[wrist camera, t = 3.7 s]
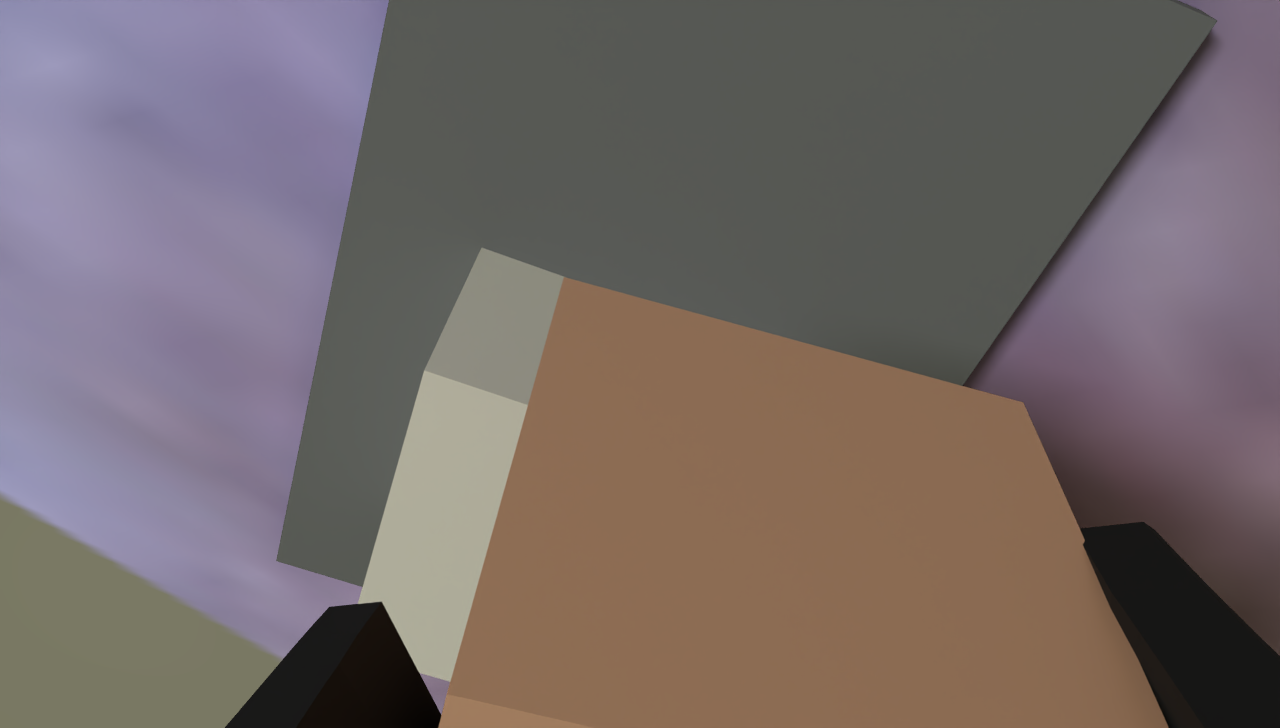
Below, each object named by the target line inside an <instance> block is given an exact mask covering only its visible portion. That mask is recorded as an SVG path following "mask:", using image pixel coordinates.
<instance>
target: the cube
mask: <svg viewBox="0 0 1280 728" xmlns="http://www.w3.org/2000/svg"><path fill="white" fill-rule="evenodd" d="M1084 541H1085V539H1084V537H1083V535H1082V533H1081V531H1080V528H1079V526H1078V524H1077V522H1076V519H1075V517H1074V515H1073V513H1072V510H1071V508H1070V506H1069V504H1068V502H1067V499H1066V497H1065V495H1064V493H1063V490H1062V488H1061V486H1060V484H1059V481H1058V479H1057V477H1056V475H1055V473H1054V470H1053V468H1052V466H1051V464H1050V461H1049V459H1048V457H1047V455H1046V452H1045V450H1044V448H1043V446H1042V443H1041V441H1040V439H1039V437H1038V435H1037V432H1036V430H1035V428H1034V426H1033V423H1032V421H1031V419H1030V417H1029V414H1028V412H1027V410H1026V408H1025V406H1024V403H1023V402H1019V401H1016V400H1012V399H1008V398H1005V397H1001V396H997V395H994V394H990V393H986V392H983V391H979V390H975V389H972V388H968V387H964V386H961V385H957V384H953V383H950V382H946V381H942V380H939V379H935V378H931V377H928V376H924V375H920V374H917V373H913V372H910V371H906V370H902V369H899V368H895V367H891V366H888V365H884V364H880V363H877V362H873V361H869V360H866V359H862V358H858V357H855V356H851V355H847V354H844V353H840V352H836V351H833V350H829V349H825V348H822V347H818V346H814V345H811V344H807V343H803V342H800V341H796V340H792V339H789V338H785V337H782V336H778V335H774V334H771V333H767V332H763V331H760V330H756V329H752V328H749V327H745V326H741V325H738V324H734V323H730V322H727V321H723V320H719V319H716V318H712V317H708V316H705V315H701V314H697V313H694V312H690V311H686V310H683V309H679V308H675V307H672V306H668V305H664V304H661V303H657V302H653V301H650V300H646V299H643V298H639V297H635V296H632V295H628V294H624V293H621V292H617V291H613V290H610V289H606V288H602V287H599V286H595V285H591V284H588V283H584V282H580V281H577V280H573V279H569V278H566V277H564V278H563V282H562V285H561V289H560V293H559V296H558V300H557V303H556V307H555V310H554V314H553V318H552V321H551V325H550V328H549V332H548V335H547V339H546V343H545V346H544V350H543V353H542V357H541V360H540V364H539V367H538V371H537V375H536V378H535V382H534V385H533V389H532V392H531V396H530V400H529V403H528V407H527V410H526V414H525V417H524V421H523V425H522V428H521V432H520V435H519V439H518V442H517V446H516V449H515V453H514V457H513V460H512V464H511V467H510V471H509V474H508V478H507V482H506V485H505V489H504V492H503V496H502V499H501V503H500V507H499V510H498V514H497V517H496V521H495V524H494V528H493V532H492V535H491V539H490V542H489V546H488V549H487V553H486V556H485V560H484V564H483V567H482V571H481V574H480V578H479V581H478V585H477V589H476V592H475V596H474V599H473V603H472V606H471V610H470V614H469V617H468V621H467V624H466V628H465V631H464V635H463V639H462V642H461V646H460V649H459V653H458V656H457V660H456V663H455V667H454V671H453V674H452V678H451V681H450V685H449V688H448V692H447V696H446V700H445V704H444V708H443V711H442V715H441V719H440V723H439V727H438V728H1169V727H1168V725H1167V723H1166V720H1165V718H1164V716H1163V714H1162V711H1161V709H1160V707H1159V705H1158V702H1157V700H1156V698H1155V696H1154V694H1153V691H1152V689H1151V687H1150V685H1149V682H1148V680H1147V678H1146V676H1145V673H1144V671H1143V669H1142V667H1141V665H1140V662H1139V660H1138V658H1137V656H1136V654H1135V653H1134V651H1133V649H1132V647H1131V645H1130V643H1129V642H1128V640H1127V638H1126V636H1125V634H1124V632H1123V630H1122V629H1121V627H1120V625H1119V623H1118V621H1117V619H1116V617H1115V616H1114V614H1113V612H1112V610H1111V608H1110V606H1109V604H1108V601H1107V599H1106V597H1105V595H1104V592H1103V590H1102V588H1101V585H1100V583H1099V581H1098V579H1097V576H1096V574H1095V572H1094V569H1093V567H1092V565H1091V562H1090V560H1089V558H1088V556H1087V553H1086V551H1085V549H1084V546H1083V543H1084Z"/></svg>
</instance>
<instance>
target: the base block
mask: <svg viewBox="0 0 1280 728" xmlns="http://www.w3.org/2000/svg"><path fill="white" fill-rule="evenodd" d="M563 278H564V276H561V275H558V274H555V273H552V272H550V271H547V270H544V269H541V268H538V267H535V266H533V265H530V264H527V263H524V262H521V261H518V260H516V259H513V258H510V257H507V256H504V255H501V254H499V253H496V252H493V251H490V250H487V249H484V248H481V250H480V252H479V254H478V256H477V259H476V261H475V263H474V265H473V267H472V269H471V271H470V274H469V276H468V278H467V280H466V282H465V284H464V286H463V288H462V291H461V293H460V295H459V297H458V299H457V301H456V303H455V306H454V308H453V310H452V312H451V314H450V316H449V318H448V321H447V323H446V325H445V327H444V329H443V331H442V333H441V336H440V338H439V340H438V342H437V344H436V346H435V348H434V350H433V353H432V355H431V357H430V359H429V361H428V363H427V365H426V368H425V370H424V373H423V376H422V380H421V383H420V387H419V390H418V394H417V397H416V401H415V405H414V408H413V412H412V415H411V419H410V422H409V426H408V429H407V433H406V436H405V440H404V443H403V447H402V450H401V454H400V457H399V461H398V464H397V468H396V471H395V475H394V478H393V482H392V486H391V489H390V493H389V496H388V500H387V503H386V507H385V510H384V514H383V517H382V521H381V524H380V528H379V531H378V535H377V538H376V542H375V545H374V549H373V552H372V556H371V560H370V563H369V567H368V570H367V574H366V577H365V581H364V584H363V588H362V591H361V595H360V598H359V602H358V604H363V603H372V602H382V603H383V605H384V607H385V609H386V611H387V612H388V614H389V616H390V618H391V620H392V622H393V624H394V626H395V628H396V630H397V632H398V633H399V635H400V637H401V639H402V641H403V643H404V645H405V647H406V649H407V651H408V653H409V654H410V656H411V658H412V660H413V662H414V664H415V666H416V668H417V670H418V672H419V673H422V674H426V675H429V676H433V677H436V678H439V679H443V680H446V681H451V678H452V674H453V671H454V667H455V663H456V660H457V656H458V653H459V649H460V646H461V642H462V639H463V635H464V631H465V628H466V624H467V621H468V617H469V614H470V610H471V606H472V603H473V599H474V596H475V592H476V589H477V585H478V581H479V578H480V574H481V571H482V567H483V564H484V560H485V556H486V553H487V549H488V546H489V542H490V539H491V535H492V532H493V528H494V524H495V521H496V517H497V514H498V510H499V507H500V503H501V499H502V496H503V492H504V489H505V485H506V482H507V478H508V474H509V471H510V467H511V464H512V460H513V457H514V453H515V449H516V446H517V442H518V439H519V435H520V432H521V428H522V425H523V421H524V417H525V414H526V410H527V407H528V403H529V400H530V396H531V392H532V389H533V385H534V382H535V378H536V375H537V371H538V367H539V364H540V360H541V357H542V353H543V350H544V346H545V343H546V339H547V335H548V332H549V328H550V325H551V321H552V318H553V314H554V310H555V307H556V303H557V300H558V296H559V293H560V289H561V285H562V282H563Z"/></svg>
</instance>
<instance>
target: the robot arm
mask: <svg viewBox="0 0 1280 728" xmlns="http://www.w3.org/2000/svg"><path fill="white" fill-rule="evenodd" d="M1080 531H1081V533H1082V535H1083V537H1084V539H1085V541H1084V543H1083V546H1084V549H1085V551H1086V553H1087V556H1088V558H1089V560H1090V562H1091V565H1092V567H1093V569H1094V572H1095V574H1096V576H1097V579H1098V581H1099V583H1100V585H1101V588H1102V590H1103V592H1104V595H1105V597H1106V599H1107V601H1108V604H1109V606H1110V608H1111V610H1112V612H1113V614H1114V616H1115V617H1116V619H1117V621H1118V623H1119V625H1120V627H1121V629H1122V630H1123V632H1124V634H1125V636H1126V638H1127V640H1128V642H1129V643H1130V645H1131V647H1132V649H1133V651H1134V653H1135V654H1136V656H1137V658H1138V660H1139V662H1140V665H1141V667H1142V669H1143V671H1144V673H1145V676H1146V678H1147V680H1148V682H1149V685H1150V687H1151V689H1152V691H1153V694H1154V696H1155V698H1156V700H1157V702H1158V705H1159V707H1160V709H1161V711H1162V714H1163V716H1164V718H1165V720H1166V723H1167V725H1168V727H1169V728H1280V656H1279V655H1278V654H1277V653H1276V652H1275V651H1274V650H1273V649H1272V648H1271V647H1270V646H1269V645H1268V644H1267V643H1265V642H1264V641H1263V640H1262V639H1261V638H1260V637H1259V636H1258V635H1257V634H1256V633H1255V632H1254V631H1253V630H1252V629H1251V628H1250V627H1249V626H1248V625H1247V624H1246V623H1245V622H1244V621H1243V620H1242V619H1241V618H1240V617H1239V616H1238V615H1237V614H1236V613H1235V612H1234V611H1233V610H1232V609H1231V608H1230V607H1229V606H1228V605H1227V604H1226V603H1225V602H1224V601H1223V600H1222V599H1221V598H1220V597H1219V596H1218V595H1217V594H1216V593H1215V592H1214V591H1213V590H1212V589H1211V588H1210V587H1209V586H1208V585H1207V584H1206V583H1205V582H1204V581H1203V580H1202V579H1201V578H1200V577H1199V576H1198V575H1197V574H1196V573H1195V572H1194V571H1193V570H1192V569H1191V568H1190V567H1189V565H1188V564H1187V563H1186V562H1185V561H1184V560H1183V559H1182V558H1181V557H1180V556H1179V555H1178V554H1177V553H1176V552H1175V551H1174V550H1173V549H1172V548H1171V547H1170V546H1169V545H1168V544H1167V542H1166V541H1165V540H1164V539H1163V538H1162V537H1161V536H1160V535H1159V534H1158V533H1157V532H1156V531H1155V530H1154V529H1152V528H1151V527H1150V526H1148V525H1147V524H1145V523H1144V522H1139V523H1129V524H1120V525H1110V526H1101V527H1091V528H1081V529H1080ZM440 719H441V714H440V712H439V710H438V708H437V706H436V704H435V702H434V700H433V698H432V696H431V695H430V693H429V691H428V689H427V687H426V685H425V683H424V681H423V679H422V677H421V675H420V674H419V672H418V670H417V668H416V666H415V664H414V662H413V660H412V658H411V656H410V654H409V653H408V651H407V649H406V647H405V645H404V643H403V641H402V639H401V637H400V635H399V633H398V632H397V630H396V628H395V626H394V624H393V622H392V620H391V618H390V616H389V614H388V612H387V611H386V609H385V607H384V605H383V603H382V602H372V603H363V604H353V605H343V606H334V607H329V608H328V609H327V610H326V611H325V612H324V613H323V614H322V616H321V617H320V618H319V619H318V620H317V621H316V622H315V623H314V624H313V625H312V627H311V628H310V629H309V630H308V631H307V632H306V633H305V634H304V636H303V637H302V638H301V639H300V640H299V641H298V643H297V644H296V645H295V646H294V647H293V648H292V650H291V651H290V652H289V653H288V654H287V655H286V657H285V658H284V659H283V660H282V661H281V662H280V664H279V665H278V666H277V667H276V669H274V671H273V672H272V673H271V674H270V675H269V677H268V678H267V679H266V680H265V681H264V682H263V684H262V685H261V686H260V687H259V688H258V689H257V691H256V692H255V693H254V694H253V695H252V697H251V698H250V699H249V700H248V701H247V702H246V704H245V705H244V706H243V707H242V708H241V709H240V711H239V712H238V713H237V714H236V715H235V716H234V718H233V719H232V720H231V721H230V722H229V723H228V725H227V726H226V727H225V728H438V727H439V723H440Z"/></svg>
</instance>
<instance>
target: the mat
mask: <svg viewBox="0 0 1280 728" xmlns="http://www.w3.org/2000/svg"><path fill="white" fill-rule="evenodd" d="M1216 22H1217V20H1215V19H1214V18H1212V17H1211V16H1209V15H1207V14H1206V13H1204V12H1203V11H1201V10H1199V9H1196V8H1194V7H1192V6H1189V5H1187V4H1185V3H1182V2H1180V1H1178V0H389V3H388V8H387V13H386V18H385V23H384V28H383V33H382V38H381V43H380V48H379V53H378V58H377V63H376V68H375V73H374V78H373V83H372V88H371V93H370V98H369V103H368V108H367V113H366V118H365V123H364V128H363V133H362V138H361V142H360V147H359V152H358V157H357V162H356V167H355V172H354V177H353V182H352V187H351V192H350V197H349V202H348V207H347V212H346V217H345V222H344V227H343V232H342V237H341V242H340V247H339V252H338V257H337V262H336V267H335V272H334V277H333V282H332V287H331V292H330V297H329V302H328V307H327V312H326V317H325V321H324V326H323V331H322V336H321V341H320V346H319V351H318V356H317V361H316V366H315V371H314V376H313V381H312V386H311V391H310V396H309V401H308V406H307V411H306V416H305V421H304V426H303V431H302V436H301V441H300V446H299V451H298V456H297V461H296V466H295V471H294V476H293V481H292V486H291V491H290V496H289V500H288V505H287V510H286V515H285V520H284V525H283V530H282V535H281V540H280V545H279V550H278V555H277V560H276V561H278V562H282V563H285V564H288V565H292V566H295V567H298V568H302V569H305V570H308V571H312V572H315V573H318V574H322V575H325V576H328V577H332V578H335V579H338V580H342V581H345V582H348V583H352V584H355V585H358V586H362V587H363V584H364V581H365V577H366V574H367V570H368V567H369V563H370V560H371V556H372V552H373V549H374V545H375V542H376V538H377V535H378V531H379V528H380V524H381V521H382V517H383V514H384V510H385V507H386V503H387V500H388V496H389V493H390V489H391V486H392V482H393V478H394V475H395V471H396V468H397V464H398V461H399V457H400V454H401V450H402V447H403V443H404V440H405V436H406V433H407V429H408V426H409V422H410V419H411V415H412V412H413V408H414V405H415V401H416V397H417V394H418V390H419V387H420V383H421V380H422V376H423V373H424V370H425V368H426V365H427V363H428V361H429V359H430V357H431V355H432V353H433V350H434V348H435V346H436V344H437V342H438V340H439V338H440V336H441V333H442V331H443V329H444V327H445V325H446V323H447V321H448V318H449V316H450V314H451V312H452V310H453V308H454V306H455V303H456V301H457V299H458V297H459V295H460V293H461V291H462V288H463V286H464V284H465V282H466V280H467V278H468V276H469V274H470V271H471V269H472V267H473V265H474V263H475V261H476V259H477V256H478V254H479V252H480V250H481V248H484V249H487V250H490V251H493V252H496V253H499V254H501V255H504V256H507V257H510V258H513V259H516V260H518V261H521V262H524V263H527V264H530V265H533V266H535V267H538V268H541V269H544V270H547V271H550V272H552V273H555V274H558V275H561V276H564V277H566V278H569V279H573V280H577V281H580V282H584V283H588V284H591V285H595V286H599V287H602V288H606V289H610V290H613V291H617V292H621V293H624V294H628V295H632V296H635V297H639V298H643V299H646V300H650V301H653V302H657V303H661V304H664V305H668V306H672V307H675V308H679V309H683V310H686V311H690V312H694V313H697V314H701V315H705V316H708V317H712V318H716V319H719V320H723V321H727V322H730V323H734V324H738V325H741V326H745V327H749V328H752V329H756V330H760V331H763V332H767V333H771V334H774V335H778V336H782V337H785V338H789V339H792V340H796V341H800V342H803V343H807V344H811V345H814V346H818V347H822V348H825V349H829V350H833V351H836V352H840V353H844V354H847V355H851V356H855V357H858V358H862V359H866V360H869V361H873V362H877V363H880V364H884V365H888V366H891V367H895V368H899V369H902V370H906V371H910V372H913V373H917V374H920V375H924V376H928V377H931V378H935V379H939V380H942V381H946V382H950V383H953V384H957V385H961V386H963V384H964V383H965V381H966V380H967V379H968V377H969V376H970V374H971V373H972V371H973V370H974V368H975V367H976V366H977V364H978V363H979V361H980V360H981V358H982V357H983V356H984V354H985V353H986V351H987V350H988V348H989V347H990V346H991V344H992V343H993V341H994V340H995V338H996V337H997V336H998V334H999V333H1000V331H1001V330H1002V328H1003V327H1004V326H1005V324H1006V323H1007V321H1008V320H1009V318H1010V317H1011V316H1012V314H1013V313H1014V311H1015V310H1016V308H1017V307H1018V306H1019V304H1020V303H1021V301H1022V300H1023V298H1024V297H1025V295H1026V294H1027V293H1028V291H1029V290H1030V288H1031V287H1032V285H1033V284H1034V283H1035V281H1036V280H1037V278H1038V277H1039V275H1040V274H1041V273H1042V271H1043V270H1044V268H1045V267H1046V265H1047V264H1048V263H1049V261H1050V260H1051V258H1052V257H1053V255H1054V254H1055V253H1056V251H1057V250H1058V248H1059V247H1060V245H1061V244H1062V243H1063V241H1064V240H1065V238H1066V237H1067V235H1068V234H1069V232H1070V231H1071V230H1072V228H1073V227H1074V225H1075V224H1076V222H1077V221H1078V220H1079V218H1080V217H1081V215H1082V214H1083V212H1084V211H1085V210H1086V208H1087V207H1088V205H1089V204H1090V202H1091V201H1092V200H1093V198H1094V197H1095V195H1096V194H1097V192H1098V191H1099V190H1100V188H1101V187H1102V185H1103V184H1104V182H1105V181H1106V180H1107V178H1108V177H1109V175H1110V174H1111V172H1112V171H1113V170H1114V168H1115V167H1116V165H1117V164H1118V162H1119V161H1120V159H1121V158H1122V157H1123V155H1124V154H1125V152H1126V151H1127V149H1128V148H1129V147H1130V145H1131V144H1132V142H1133V141H1134V139H1135V138H1136V137H1137V135H1138V134H1139V132H1140V131H1141V129H1142V128H1143V127H1144V125H1145V124H1146V122H1147V121H1148V119H1149V118H1150V117H1151V115H1152V114H1153V112H1154V111H1155V109H1156V108H1157V107H1158V105H1159V104H1160V102H1161V101H1162V99H1163V98H1164V96H1165V95H1166V94H1167V92H1168V91H1169V89H1170V88H1171V86H1172V85H1173V84H1174V82H1175V81H1176V79H1177V78H1178V76H1179V75H1180V74H1181V72H1182V71H1183V69H1184V68H1185V66H1186V65H1187V64H1188V62H1189V61H1190V59H1191V58H1192V56H1193V55H1194V54H1195V52H1196V51H1197V49H1198V48H1199V46H1200V45H1201V44H1202V42H1203V41H1204V39H1205V38H1206V36H1207V35H1208V34H1209V32H1210V31H1211V29H1212V28H1213V26H1214V25H1215V23H1216Z"/></svg>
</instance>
